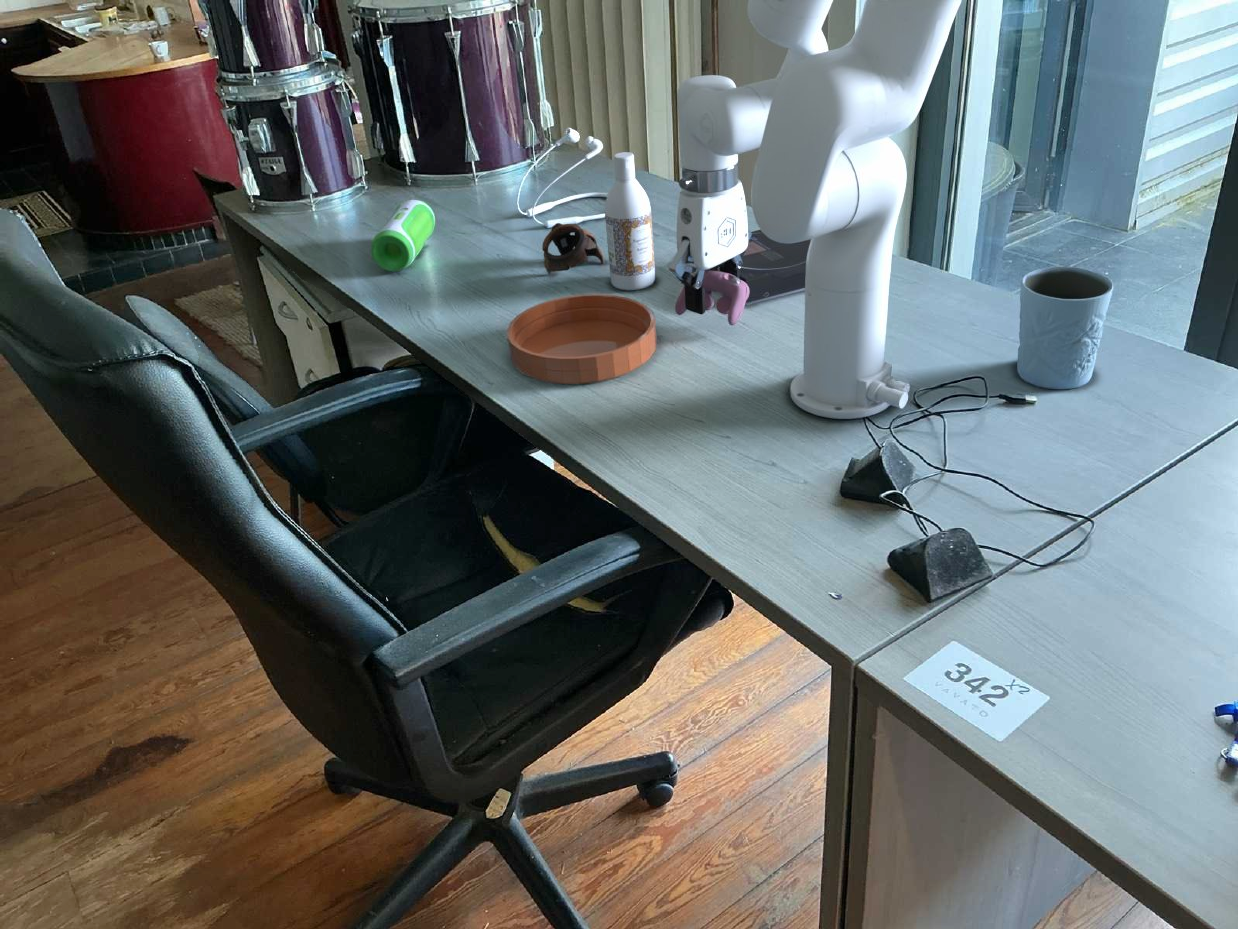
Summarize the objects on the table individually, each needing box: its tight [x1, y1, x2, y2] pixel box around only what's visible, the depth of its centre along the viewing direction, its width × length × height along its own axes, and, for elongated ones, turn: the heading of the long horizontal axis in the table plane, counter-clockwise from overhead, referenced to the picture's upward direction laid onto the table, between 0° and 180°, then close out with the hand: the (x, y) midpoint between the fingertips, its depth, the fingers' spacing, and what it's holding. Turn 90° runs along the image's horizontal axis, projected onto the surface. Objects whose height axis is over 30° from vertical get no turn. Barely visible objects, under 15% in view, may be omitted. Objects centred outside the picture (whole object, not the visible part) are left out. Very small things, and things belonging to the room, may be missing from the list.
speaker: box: [371, 199, 436, 272], centre depth 178 cm, size 18×7×8 cm, turn 175°
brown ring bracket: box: [541, 223, 605, 276], centre depth 169 cm, size 12×10×8 cm
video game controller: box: [674, 270, 749, 326], centre depth 145 cm, size 10×5×7 cm, turn 58°
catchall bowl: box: [506, 293, 658, 385], centre depth 143 cm, size 20×20×4 cm
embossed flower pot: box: [1016, 266, 1114, 390], centre depth 125 cm, size 10×10×12 cm
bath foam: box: [604, 151, 656, 291], centre depth 157 cm, size 7×7×20 cm
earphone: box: [516, 127, 608, 229], centre depth 190 cm, size 14×17×18 cm
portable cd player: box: [693, 229, 811, 306], centre depth 160 cm, size 16×17×4 cm
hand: (712, 301), depth 146 cm, fingers closed on video game controller, 6 cm apart
